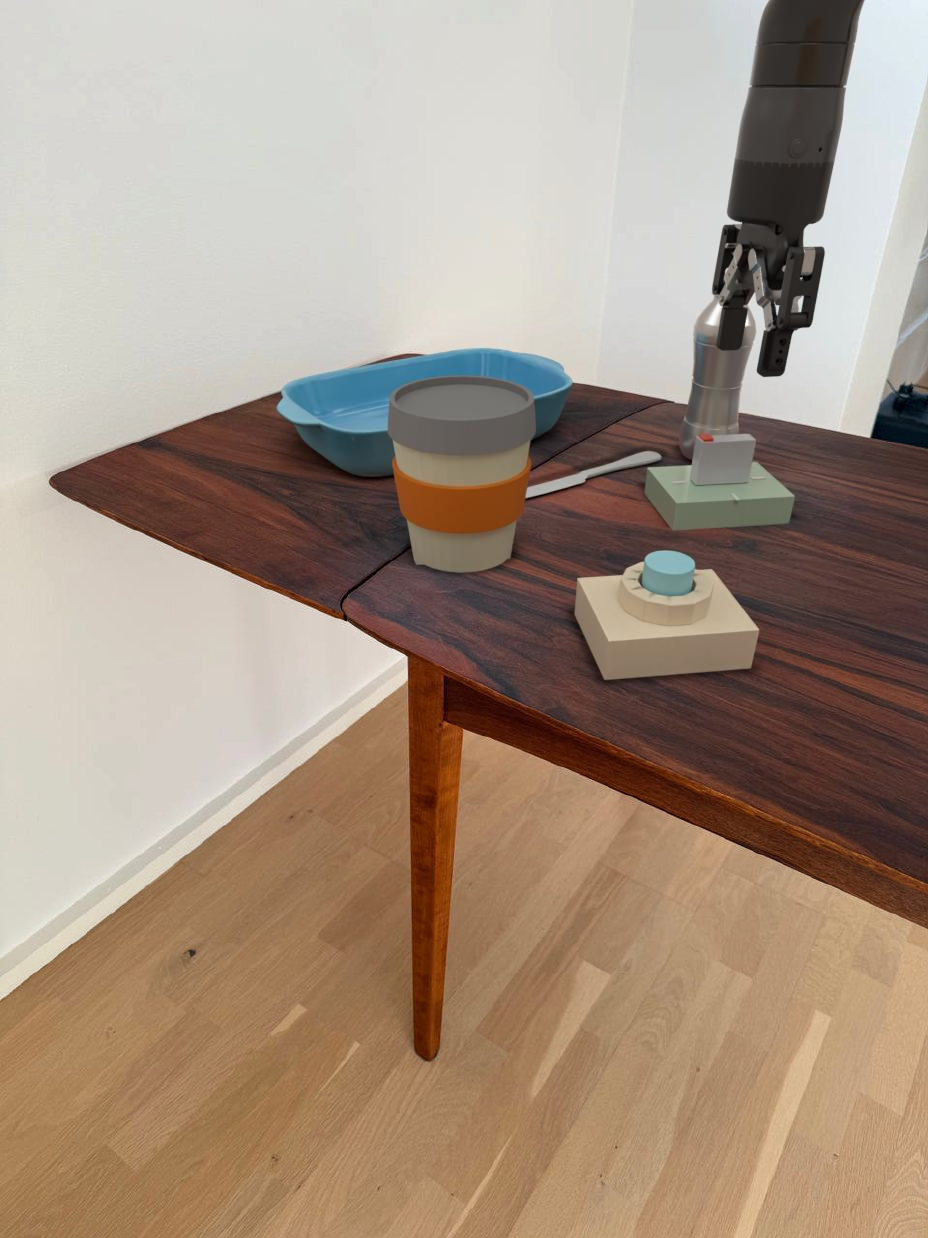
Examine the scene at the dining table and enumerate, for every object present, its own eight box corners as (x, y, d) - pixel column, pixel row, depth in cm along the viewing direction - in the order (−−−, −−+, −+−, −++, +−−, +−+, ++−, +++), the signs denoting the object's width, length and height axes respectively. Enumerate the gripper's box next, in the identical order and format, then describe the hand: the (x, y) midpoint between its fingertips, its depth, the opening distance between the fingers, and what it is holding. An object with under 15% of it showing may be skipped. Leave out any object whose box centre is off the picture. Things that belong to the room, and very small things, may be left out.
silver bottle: (709, 474, 95) (740, 285, 84) (663, 456, 99) (687, 274, 88) (746, 461, 98) (780, 277, 87) (700, 444, 102) (727, 268, 92)
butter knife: (668, 456, 98) (650, 449, 100) (497, 504, 86) (480, 495, 89) (667, 460, 98) (649, 452, 100) (496, 508, 87) (480, 498, 89)
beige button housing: (704, 613, 70) (715, 548, 67) (749, 677, 62) (764, 608, 59) (573, 622, 69) (578, 557, 65) (603, 689, 61) (611, 619, 58)
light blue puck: (681, 572, 64) (685, 548, 63) (698, 596, 61) (702, 571, 60) (635, 575, 64) (638, 551, 63) (650, 600, 61) (653, 575, 60)
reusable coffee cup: (558, 556, 78) (568, 396, 70) (460, 606, 71) (459, 433, 63) (463, 514, 86) (463, 366, 78) (366, 555, 78) (354, 395, 70)
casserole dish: (332, 504, 88) (326, 438, 84) (253, 440, 104) (245, 382, 100) (604, 436, 105) (609, 378, 101) (501, 390, 121) (502, 338, 117)
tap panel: (750, 486, 92) (755, 458, 90) (790, 525, 84) (797, 496, 82) (642, 492, 91) (646, 464, 89) (673, 532, 82) (677, 502, 81)
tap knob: (741, 475, 87) (749, 430, 84) (748, 482, 85) (757, 437, 83) (689, 478, 86) (696, 433, 83) (695, 485, 84) (702, 440, 82)
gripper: (879, 161, 61) (827, 383, 70) (787, 148, 73) (752, 340, 82) (781, 162, 60) (741, 388, 69) (704, 148, 72) (678, 343, 81)
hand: (747, 361), depth 75 cm, fingers open, 8 cm apart
